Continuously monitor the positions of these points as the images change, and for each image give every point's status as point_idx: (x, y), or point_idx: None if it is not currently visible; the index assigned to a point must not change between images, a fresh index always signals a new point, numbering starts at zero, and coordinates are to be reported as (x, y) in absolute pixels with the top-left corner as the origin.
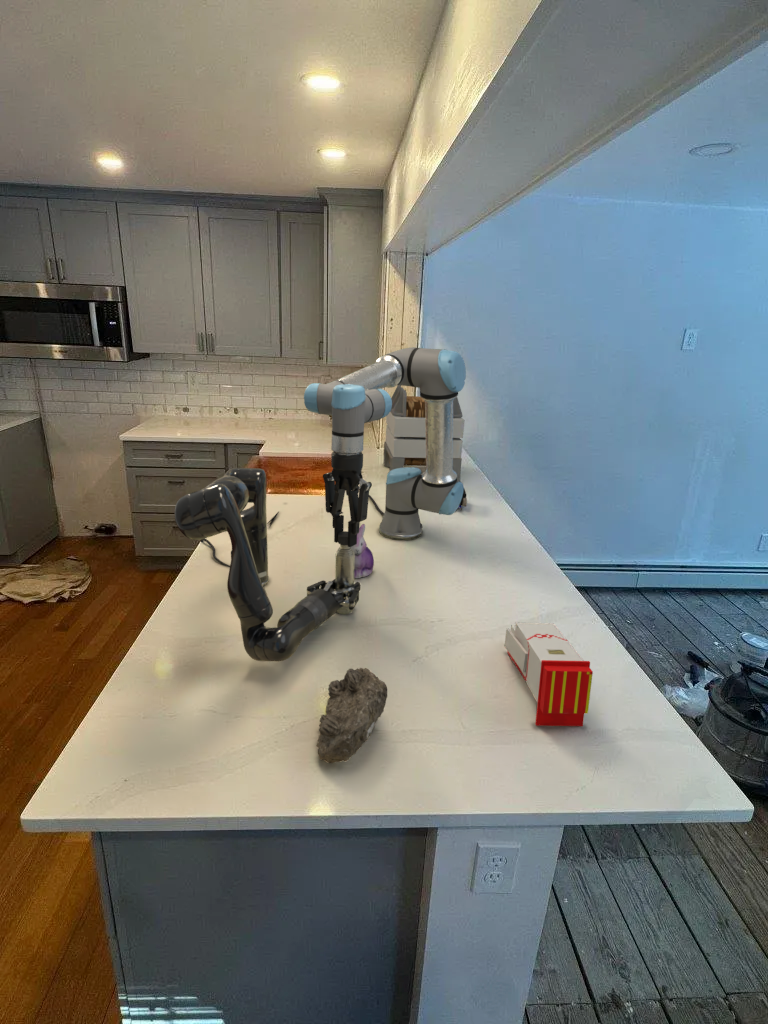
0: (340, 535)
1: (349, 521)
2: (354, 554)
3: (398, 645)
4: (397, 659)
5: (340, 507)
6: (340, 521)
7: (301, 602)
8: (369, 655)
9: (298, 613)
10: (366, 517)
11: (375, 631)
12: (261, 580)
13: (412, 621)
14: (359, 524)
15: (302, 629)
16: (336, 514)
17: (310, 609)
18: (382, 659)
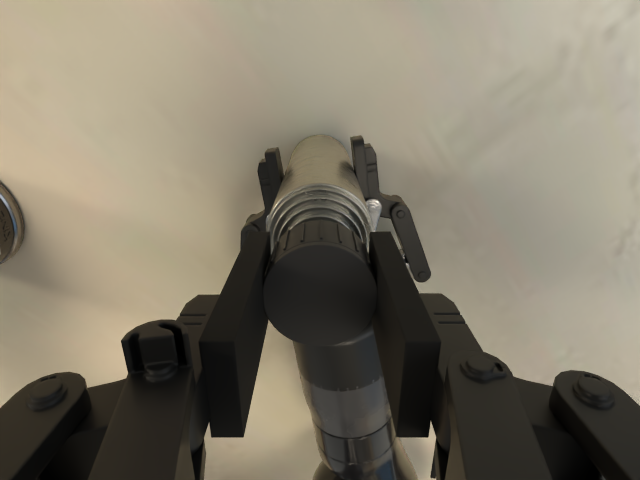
0: (309, 340)
1: (435, 474)
2: (366, 209)
3: (556, 220)
4: (577, 270)
5: (187, 473)
6: (247, 354)
7: (338, 426)
8: (507, 296)
9: (372, 463)
10: (626, 403)
11: (468, 203)
12: (6, 230)
13: (546, 78)
14: (478, 345)
15: (399, 452)
16: (200, 438)
17: (379, 425)
18: (543, 291)
